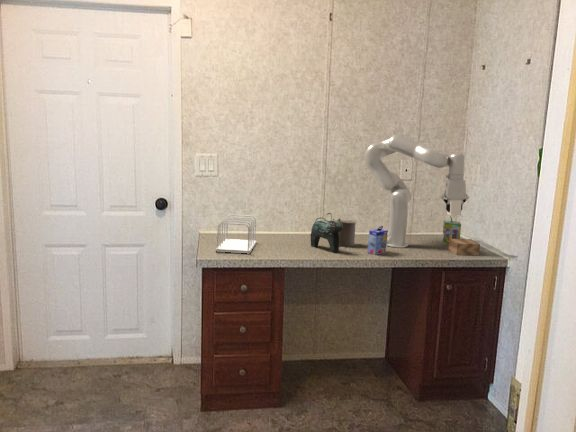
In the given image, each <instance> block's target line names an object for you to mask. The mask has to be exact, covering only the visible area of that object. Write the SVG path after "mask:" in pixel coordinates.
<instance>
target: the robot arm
mask: <svg viewBox="0 0 576 432" xmlns="http://www.w3.org/2000/svg"><path fill="white" fill-rule="evenodd" d="M395 153H400V154H402V155H405V156H408V157H409V158H413V159H415V160H417V161H420V162H422V163H424V164H427V165H429V166H431V167H435V168H437V169H441V168H446V167H448V173H447V174H446V175H445V178H447V180H446V183H445V188H444V193H442V195H441V196H440V200H442V201H443V202H444V203H445V205H446V206H445V210H446V213H447V212H450V199H462V201H461V211H462V210H463V205H464V203H466V202H467V200H469V199H470V196H469V195H468V194H467V187H466V185H467V184H466V180H464V174H465V172H464V171H465V154H462V153H446V152H445V153H444V152H439V151H435V150H433V149H430V148H428V147H426V146H425V145H423V144H422V143H420V142H418V141H415V140H412V139H410V138H407V137H405V136H404V135H401V134H394V135H391V137H390V138H388V139H385V140H382V141H381V142H374V143H372V144H370V145H369V146H367V149H366V151H365V154H364V161H365V164H366V166H367V168H368V169H369V171H370V173H371V174H372V175H373V177H374V178H375V180H376V181H377V182H378V183H379V186H380V187H382V189H383V190H385V191H389V193H390V194H391V195H390V197H389V224H388V234H387V243H386V247H389V248H397V249H398V248H399V249H402V248H408V247H409V243H407V242H406V241H407V240H406V238H407V225H408V211H409V209H408V208H409V207H408V206H409V205H408V204H409V202H411V200H412V192H411V190H410V189H409V188H408V186H407V185H406V184H405V182H404V181H403V180H402V179H401V177H400V176H399V175H398V174H397V173H395V172H391V171H390V169H389V168H388V167H387V165H386V164H385V163H384V162H383V161H382V159H383V158H385V157H387V156H390V155H393V154H395ZM381 158H382V159H381Z"/></svg>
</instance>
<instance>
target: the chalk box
mask: <svg viewBox="0 0 576 432" xmlns="http://www.w3.org/2000/svg"><path fill="white" fill-rule="evenodd" d="M449 216H450V220H443V223H442V224H443V225H442V227H443V228H442V238H441V239H442V241H443V243H449V239H461V230H462V223H461V222H460V221H455V220H454V221H453V217H452V215H449Z"/></svg>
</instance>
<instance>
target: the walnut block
mask: <svg viewBox="0 0 576 432" xmlns="http://www.w3.org/2000/svg"><path fill="white" fill-rule="evenodd" d="M480 248H481V244H480V243H479V242H477V241H475V240H473V239H472V238H460V239H449V242H448V251H450V252H452V253H453V254H455V255H456V256H480Z"/></svg>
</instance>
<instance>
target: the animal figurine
mask: <svg viewBox="0 0 576 432" xmlns="http://www.w3.org/2000/svg"><path fill="white" fill-rule="evenodd" d="M326 215H327V216H328V215H330V220H327V219H326V218H324V217H322V219H321V217H317V218H316V219H315V221H314V223H313V224H312V227H311V233H310V247H312V248H318V247H319V244H320V243H319V242H320V240H321V238H322V239H324V240H326V241H327V242H328V244H329V245H328V246H329V252H330V253H334V254H335V253H339V251H340V246H339V234H338V232H340V231H342V228H343V224H342V222H341V221H340V220H341V218H338V219H335V218H333V216H332V213H331V212H327V214H326ZM319 219H321V220H319Z"/></svg>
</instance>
